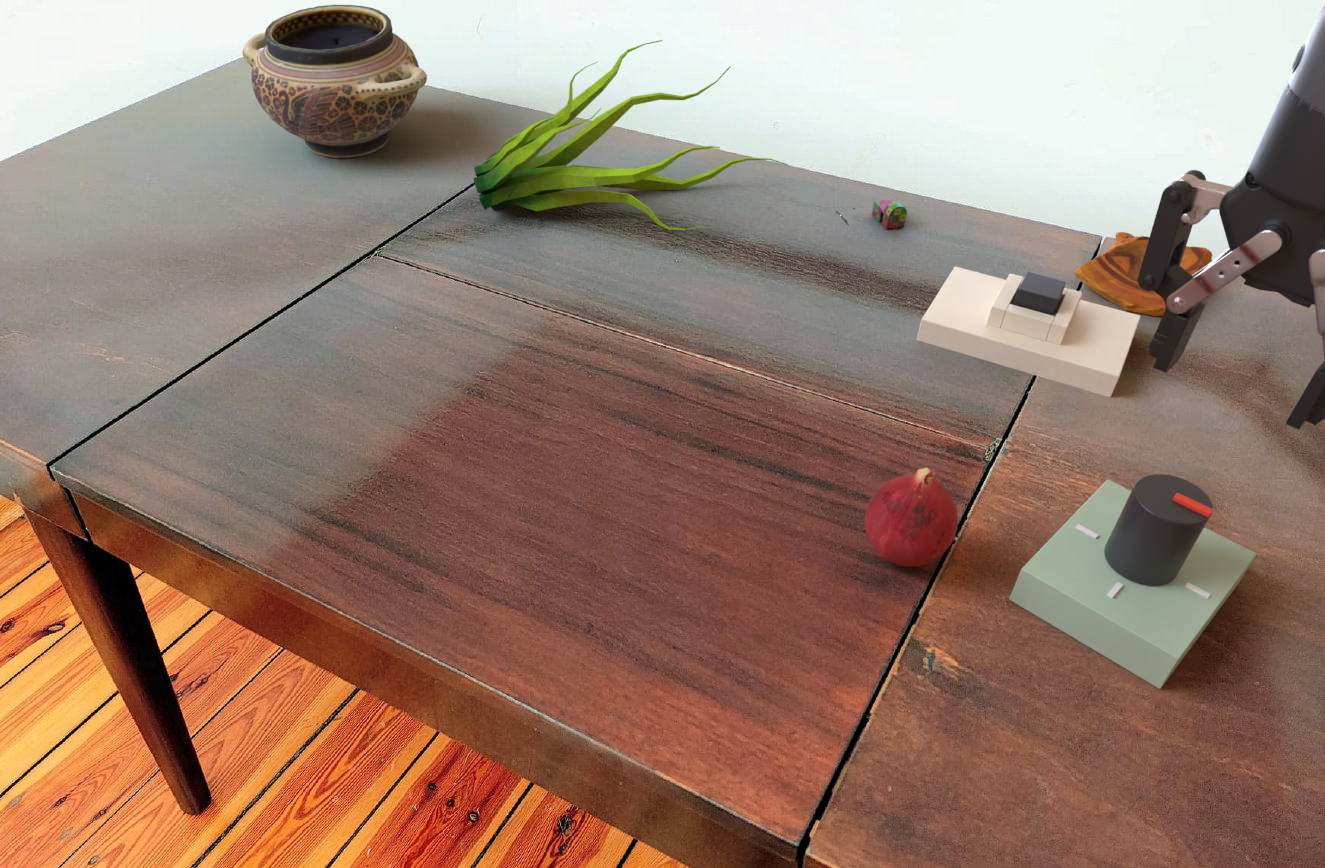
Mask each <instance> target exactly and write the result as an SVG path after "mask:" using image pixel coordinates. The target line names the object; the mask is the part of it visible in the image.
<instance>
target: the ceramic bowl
mask: <svg viewBox="0 0 1325 868" xmlns="http://www.w3.org/2000/svg"><path fill="white" fill-rule="evenodd" d="M242 57H243V59H244V60H245V62H246V63H247V64H248V65H249V66H250V67H251V84H252V91H253V93H254V96H255V98H256V100H257V102H258V104H259V105H260V108H261V109H263V111H264V112H265V113H266V115H268V117H269V118H270V119H271V121H273V122H274V123H275V124H277V125H278V126H279V127H280V128H282V129H283V130H284V131H286V132H288V133H289V134H291V135H293V136H296V137H298V138H300V139H303V140H304V142H305V146H306V147H307V148H308V149H309V150H310V151H311V152H312V153H314V154H316V155H319V156H323V157H328V158H333V159H341V158H342V159H348V158H356V157H363V156H366V155H370V154H372V153H375V152H376V151H378V150H380V149H382V148H383V147H384V146H385V145H386V144H387V143H388V141H389V140H390V131H391V130H392V129H393V128H394V127H395V126H397V125H398V124H399V123H400V122H402V120H403V119H404V118H405V116H406V115H407V114H408V113H409V111H410V110H411V109H412V106H413V104H414V103H415V102H416V99H417V96H418V93H419V90H420V89H422V88H423V87H424V86H425V85H426V83H427V81H428V74H427V73H426V71H424V69H423V68H420V66H419V62H418V59H417V57H416V54H415V53H414V50H413V49H412V47H410V45H409V44H408V43H407V42H406V41H405V40H404V39H402V37H400V36H399V35H398V34H396V33H394V32H393V26H392V20H391V18H390V17H389V16H388V15H387V14H386V13H384V12H382V11H381V10H379V9H376V8H374V7H370V6H365V5H356V4H327V5H318V6H313V7H308V8H304V9H300V10H296V11H293V12H291V13H289V14H285V15H283V16H281V17H278V18H277V19H275V20H272V21H271V23H270V24H268V26H267V27H266V29H265V32H261V33H257V34H255V35H254V36H252V37H251V38H249V39H248V40H247V41H246V43H245V44H244V45H243V48H242Z"/></svg>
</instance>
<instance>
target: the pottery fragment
mask: <svg viewBox="0 0 1325 868" xmlns="http://www.w3.org/2000/svg"><path fill="white" fill-rule="evenodd" d="M1114 237H1115V241H1114V243H1113V244H1112V245H1111V247H1109V248H1108V249H1107V250H1106V251H1105V252H1104V253H1102V254H1100V255H1098V256H1097V257H1094V258H1093V259H1091V260H1089V261H1087V262H1086V263H1084V264H1081V265H1080V266H1079V267H1077V268H1076V269H1075V270H1074V271H1073V274H1074V276H1076V278H1077V279H1079V281H1080V282H1081V283H1082V284H1084V285H1085V286H1086V287H1088V288H1089V289H1090V290H1092V291H1093V292H1094V293H1096V294H1098V295H1099V296H1100V297H1102V298H1104V299H1105V300H1107V301H1109V302H1111V303H1113V304H1114V305H1115V306H1118V307H1120V308H1121V309H1123V311H1125V312H1129V313H1134V314H1139V315H1140V314H1141V315H1147V316H1150V317H1163V314H1164V312H1165V309H1166V305H1165V301H1164V300H1163V298H1162V297H1161V296H1160V295H1158V294H1157V293H1156V292H1155V291H1146V290H1144V289H1142V288H1141V287H1140V286H1139V284H1138V275H1139V272H1140V269H1141V265H1142V262H1143V258H1144V255H1145V251H1146V248H1147V245H1148V241H1149V238H1150V236H1146V235H1139V236H1134V234H1131V233H1128V232H1125V231H1117V232H1116V233H1115V236H1114ZM1212 259H1213V252H1212V251H1211V250H1209V249H1208V248H1206V247H1201V246H1187V245H1186V248H1185V251H1184V254H1183V257H1182V261H1181V264H1180V266H1181V267H1182V268H1183V269H1185V270H1186V271H1187V272H1188V273H1189V274H1191V275H1194V274H1195V273H1197V272H1198V271H1199V270H1201V269H1202V268H1204V267H1205V266H1206V265H1208V264H1209V263H1211V262H1212V261H1213V260H1212Z"/></svg>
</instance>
